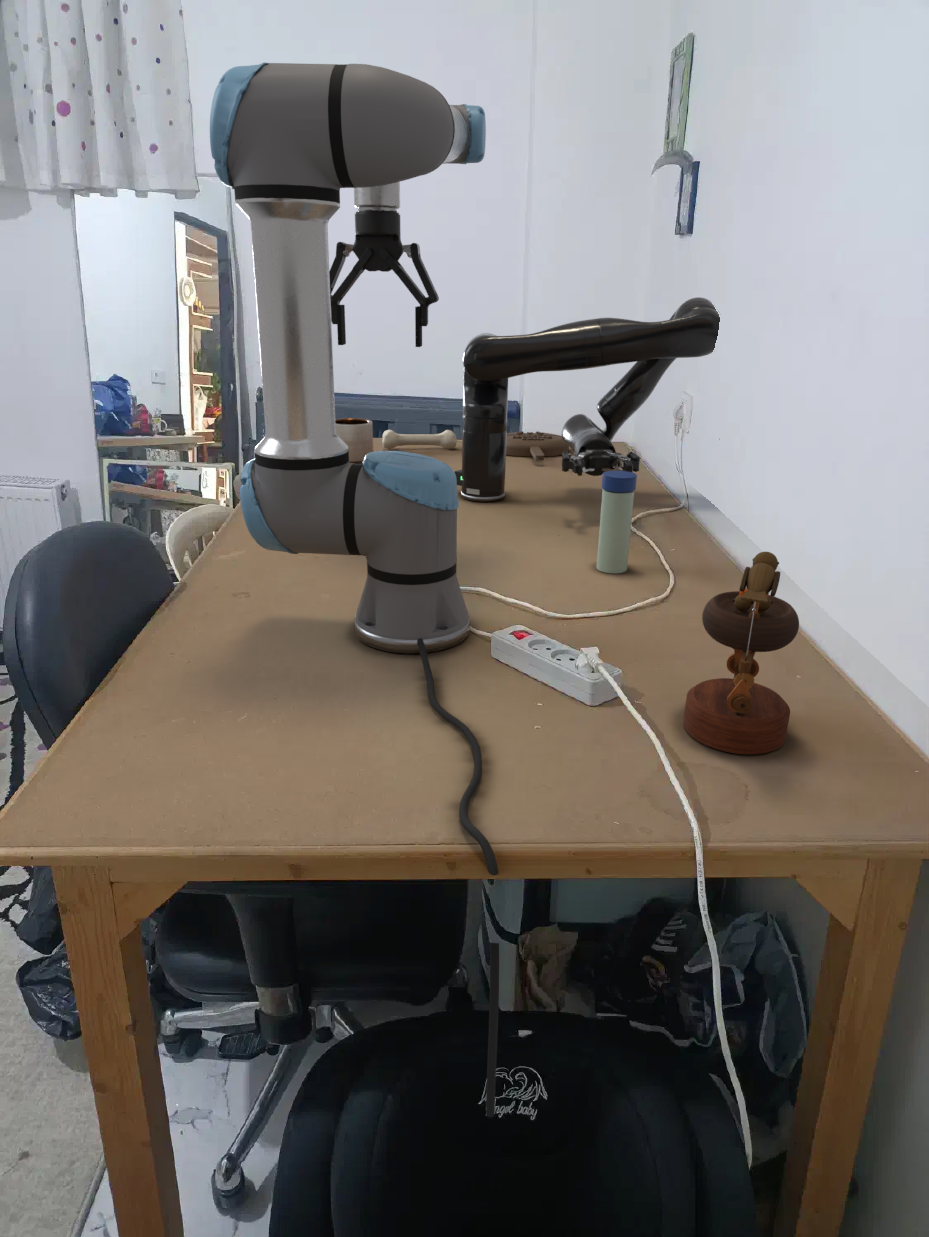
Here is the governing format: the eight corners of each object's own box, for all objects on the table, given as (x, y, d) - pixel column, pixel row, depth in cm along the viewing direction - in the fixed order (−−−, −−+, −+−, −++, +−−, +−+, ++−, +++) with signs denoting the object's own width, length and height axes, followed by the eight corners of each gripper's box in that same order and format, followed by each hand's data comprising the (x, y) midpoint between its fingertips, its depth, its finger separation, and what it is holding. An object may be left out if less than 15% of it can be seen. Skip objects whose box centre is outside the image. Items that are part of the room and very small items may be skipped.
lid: (598, 490, 132) (599, 476, 131) (604, 483, 137) (605, 469, 136) (632, 493, 130) (634, 479, 129) (637, 486, 135) (639, 472, 134)
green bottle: (593, 571, 137) (601, 479, 131) (599, 562, 141) (606, 472, 136) (624, 575, 136) (633, 481, 130) (629, 565, 140) (637, 475, 134)
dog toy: (454, 445, 233) (454, 427, 231) (457, 450, 228) (457, 431, 226) (381, 446, 230) (380, 428, 228) (382, 451, 225) (382, 432, 223)
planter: (327, 456, 217) (325, 418, 214) (369, 454, 220) (368, 417, 217) (334, 465, 208) (332, 425, 204) (377, 463, 211) (376, 424, 207)
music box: (807, 766, 83) (825, 574, 75) (692, 766, 84) (698, 577, 77) (772, 695, 97) (784, 526, 89) (674, 696, 98) (678, 530, 91)
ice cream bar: (498, 465, 210) (498, 448, 208) (489, 444, 236) (490, 429, 234) (582, 466, 211) (583, 449, 209) (564, 445, 237) (565, 429, 235)
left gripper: (455, 213, 142) (453, 345, 150) (309, 211, 144) (315, 342, 152) (449, 210, 135) (448, 349, 143) (297, 208, 137) (304, 345, 145)
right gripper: (558, 433, 166) (565, 449, 151) (631, 433, 165) (645, 449, 150) (557, 471, 169) (563, 490, 154) (628, 471, 168) (642, 490, 153)
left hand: (380, 345), depth 147 cm, fingers open, 13 cm apart
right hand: (604, 470), depth 152 cm, fingers open, 8 cm apart
